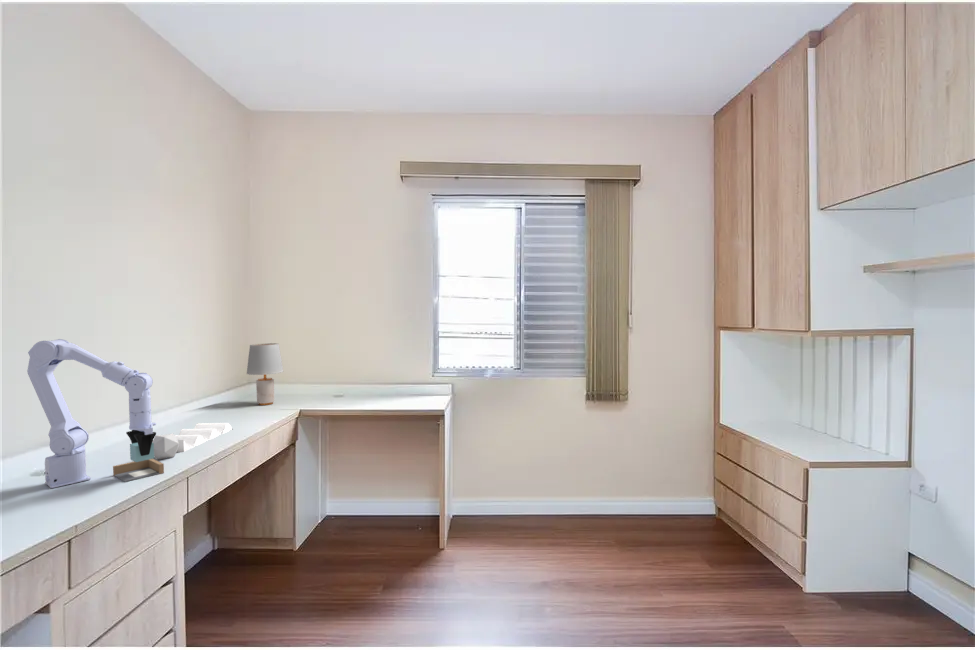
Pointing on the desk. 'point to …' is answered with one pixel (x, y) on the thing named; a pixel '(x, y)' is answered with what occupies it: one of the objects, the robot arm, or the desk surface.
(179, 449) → the file organizer
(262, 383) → the lamp
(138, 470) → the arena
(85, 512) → the desk surface
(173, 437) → the die
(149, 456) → the cube
